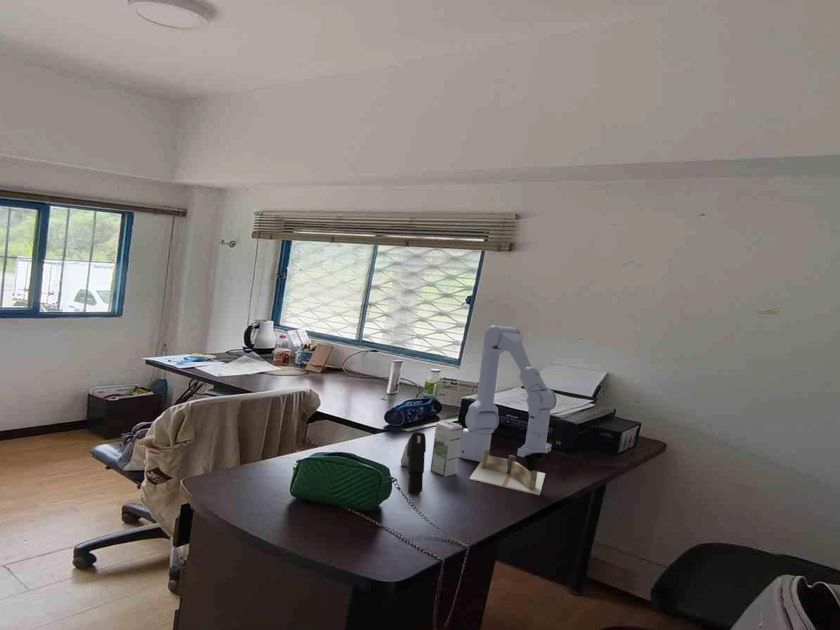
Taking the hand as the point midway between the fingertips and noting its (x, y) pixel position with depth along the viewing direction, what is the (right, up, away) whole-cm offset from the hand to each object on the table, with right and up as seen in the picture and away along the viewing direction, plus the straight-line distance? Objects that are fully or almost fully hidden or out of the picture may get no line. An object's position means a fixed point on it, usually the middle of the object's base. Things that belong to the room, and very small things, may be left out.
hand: (530, 477), depth 166 cm
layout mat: (-5, -1, +6) cm, 8 cm away
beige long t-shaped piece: (-2, -1, +1) cm, 3 cm away
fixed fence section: (-8, 0, +9) cm, 12 cm away
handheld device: (-35, +1, -7) cm, 35 cm away
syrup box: (-25, +1, +2) cm, 25 cm away
